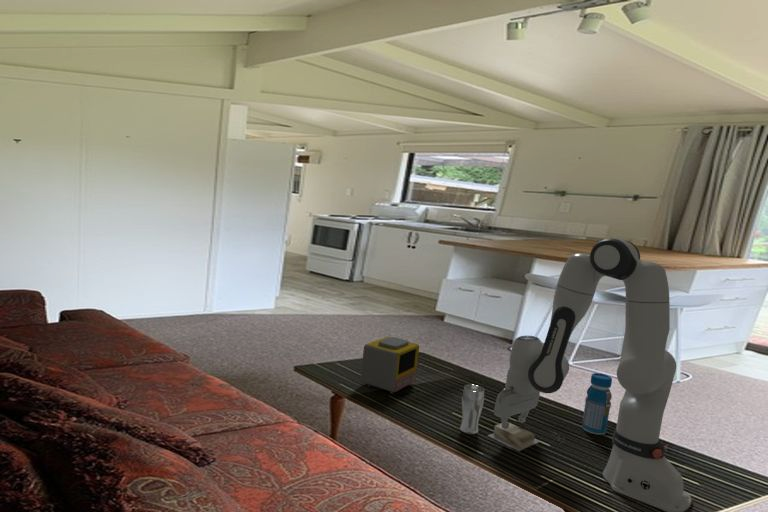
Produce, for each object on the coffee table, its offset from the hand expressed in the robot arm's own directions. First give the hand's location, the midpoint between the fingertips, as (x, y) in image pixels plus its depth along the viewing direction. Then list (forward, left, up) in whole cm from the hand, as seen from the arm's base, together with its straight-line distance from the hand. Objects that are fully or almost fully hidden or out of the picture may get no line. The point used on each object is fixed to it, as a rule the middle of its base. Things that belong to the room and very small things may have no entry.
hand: (513, 424), depth 167 cm
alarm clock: (+55, +4, -5) cm, 56 cm away
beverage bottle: (-12, -34, -5) cm, 36 cm away
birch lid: (-1, 0, -4) cm, 4 cm away
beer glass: (+11, +8, -5) cm, 15 cm away
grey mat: (-1, 0, -5) cm, 5 cm away
